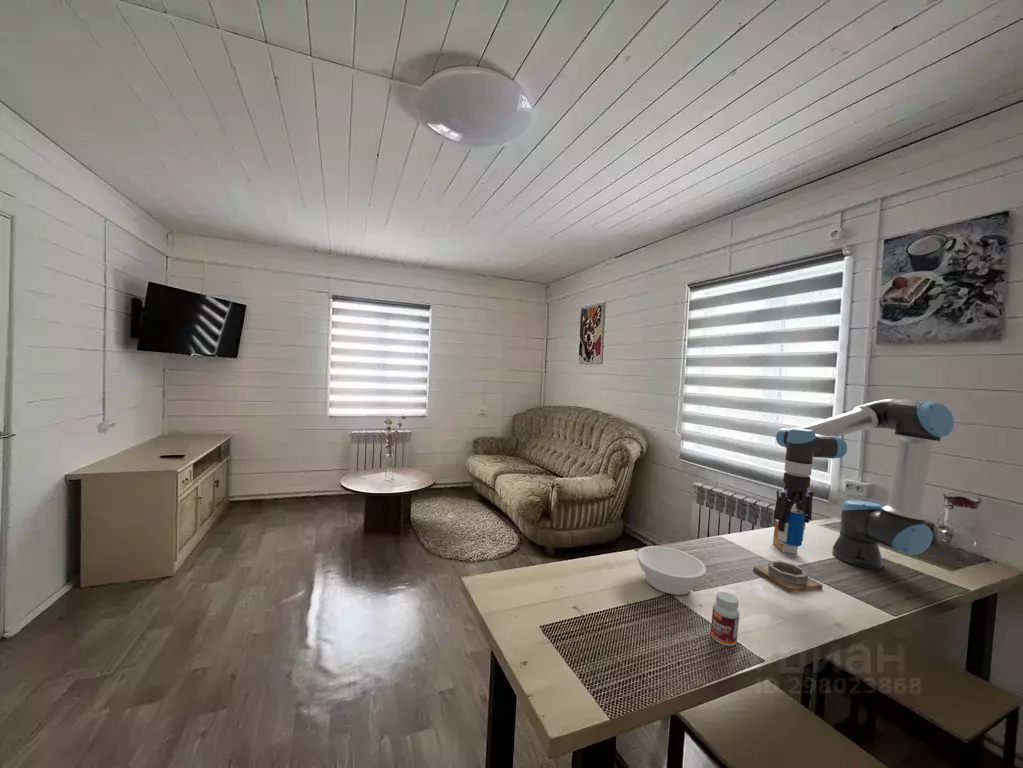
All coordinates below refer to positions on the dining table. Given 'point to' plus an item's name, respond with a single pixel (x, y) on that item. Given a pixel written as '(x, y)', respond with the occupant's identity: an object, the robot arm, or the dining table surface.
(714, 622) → the pill bottle
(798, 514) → the beverage can
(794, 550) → the small box
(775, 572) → the socket
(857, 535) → the robot arm
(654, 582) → the bowl
